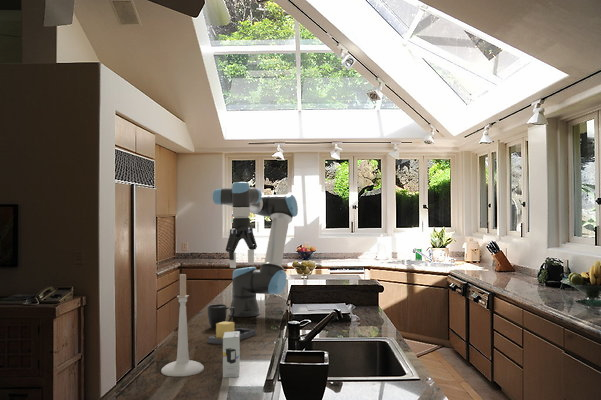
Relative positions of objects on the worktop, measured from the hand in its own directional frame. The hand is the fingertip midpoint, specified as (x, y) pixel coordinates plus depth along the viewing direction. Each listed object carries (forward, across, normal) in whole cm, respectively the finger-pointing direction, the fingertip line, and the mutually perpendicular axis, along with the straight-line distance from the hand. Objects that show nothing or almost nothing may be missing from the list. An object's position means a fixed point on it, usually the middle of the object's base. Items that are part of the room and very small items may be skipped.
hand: (242, 266), depth 223 cm
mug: (+27, +5, -8) cm, 28 cm away
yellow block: (+26, +25, +9) cm, 37 cm away
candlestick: (+25, +63, +22) cm, 71 cm away
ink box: (+25, +58, +37) cm, 73 cm away
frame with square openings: (+26, +20, +9) cm, 34 cm away
